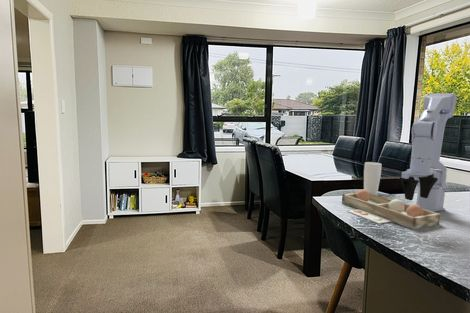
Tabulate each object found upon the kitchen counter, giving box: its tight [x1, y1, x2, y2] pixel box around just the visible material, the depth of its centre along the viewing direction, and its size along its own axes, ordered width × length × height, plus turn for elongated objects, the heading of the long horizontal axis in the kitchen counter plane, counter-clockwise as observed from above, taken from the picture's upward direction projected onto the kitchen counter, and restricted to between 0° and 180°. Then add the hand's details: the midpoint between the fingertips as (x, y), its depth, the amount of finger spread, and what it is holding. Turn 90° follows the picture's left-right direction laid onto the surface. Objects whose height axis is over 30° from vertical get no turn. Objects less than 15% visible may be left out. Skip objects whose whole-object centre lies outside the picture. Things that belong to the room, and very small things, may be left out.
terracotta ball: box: [406, 204, 424, 217], centre depth 108 cm, size 5×5×5 cm
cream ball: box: [389, 198, 405, 213], centre depth 114 cm, size 5×5×5 cm
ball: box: [356, 189, 370, 202], centre depth 128 cm, size 5×5×5 cm
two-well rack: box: [341, 192, 441, 230], centre depth 118 cm, size 13×31×4 cm, turn 26°
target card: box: [347, 208, 393, 225], centre depth 113 cm, size 6×14×1 cm, turn 26°
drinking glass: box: [363, 161, 383, 195], centre depth 138 cm, size 7×7×15 cm
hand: (416, 198), depth 107 cm, fingers open, 7 cm apart
